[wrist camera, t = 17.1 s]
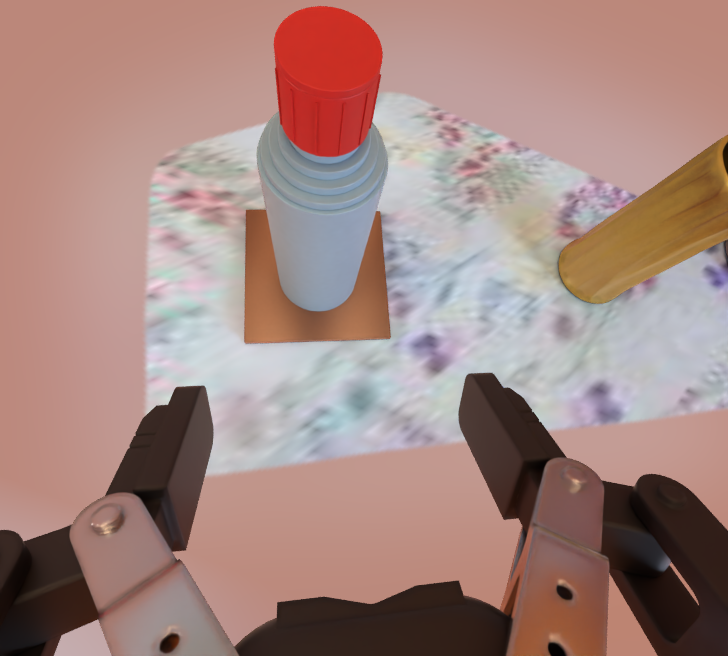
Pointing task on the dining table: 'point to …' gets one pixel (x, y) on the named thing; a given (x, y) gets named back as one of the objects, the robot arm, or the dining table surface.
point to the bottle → (319, 213)
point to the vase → (652, 230)
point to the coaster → (294, 324)
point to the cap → (326, 79)
